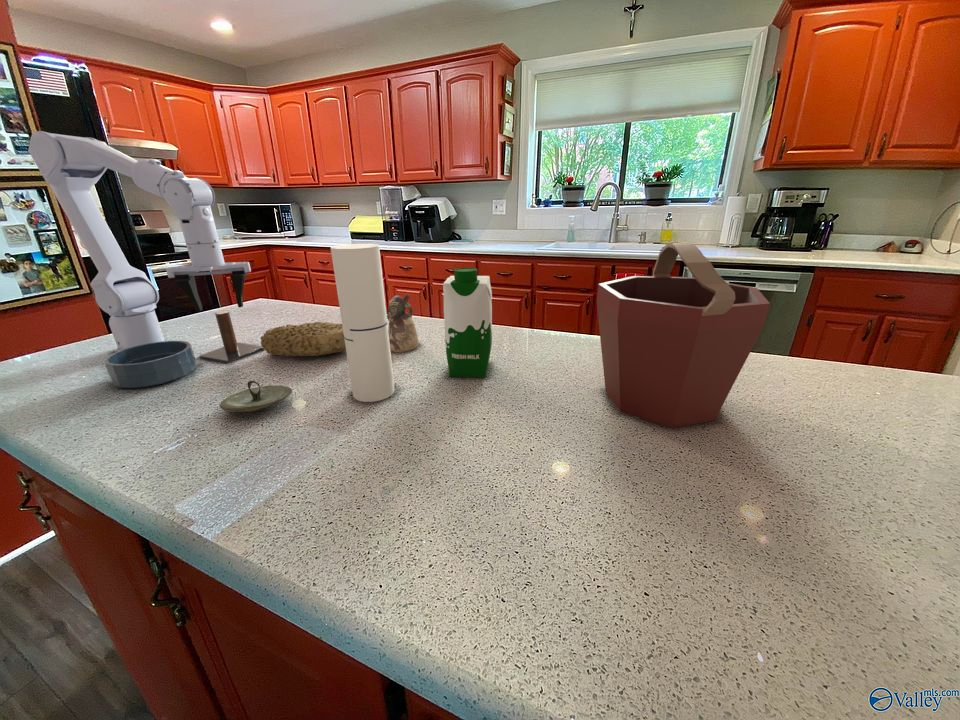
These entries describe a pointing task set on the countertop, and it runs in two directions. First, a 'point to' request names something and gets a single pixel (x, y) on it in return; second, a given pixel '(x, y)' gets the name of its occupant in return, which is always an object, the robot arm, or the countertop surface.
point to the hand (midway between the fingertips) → (220, 308)
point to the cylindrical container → (364, 320)
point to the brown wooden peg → (227, 331)
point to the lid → (255, 398)
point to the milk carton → (468, 322)
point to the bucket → (676, 338)
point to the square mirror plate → (229, 357)
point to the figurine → (401, 325)
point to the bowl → (150, 363)
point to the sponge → (304, 339)
